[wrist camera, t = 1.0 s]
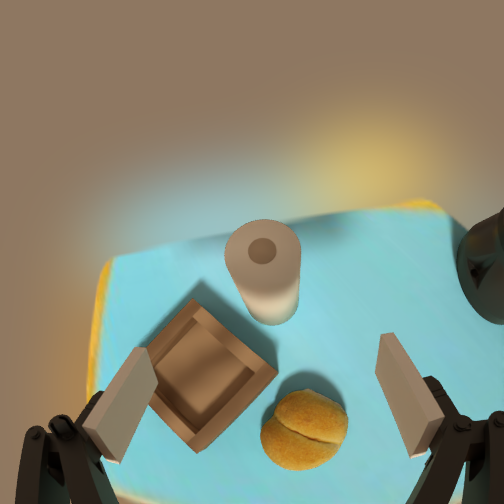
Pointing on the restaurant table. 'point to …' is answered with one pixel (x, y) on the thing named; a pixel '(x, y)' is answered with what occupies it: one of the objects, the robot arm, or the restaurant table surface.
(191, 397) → the tray
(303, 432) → the bread roll
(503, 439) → the robot arm
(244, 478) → the restaurant table surface
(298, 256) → the paper roll
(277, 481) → the restaurant table surface
